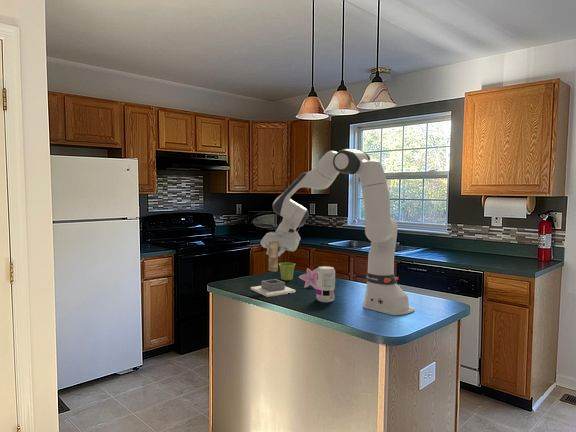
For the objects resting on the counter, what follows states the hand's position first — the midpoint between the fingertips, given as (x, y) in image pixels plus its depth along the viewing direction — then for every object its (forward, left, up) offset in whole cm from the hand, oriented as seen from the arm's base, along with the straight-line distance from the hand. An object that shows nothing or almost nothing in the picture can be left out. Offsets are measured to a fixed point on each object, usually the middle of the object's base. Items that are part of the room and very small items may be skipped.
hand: (272, 255), depth 203 cm
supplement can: (-26, -13, -18) cm, 34 cm away
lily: (-2, -22, -18) cm, 29 cm away
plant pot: (+18, -21, -18) cm, 33 cm away
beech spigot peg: (0, -1, -8) cm, 8 cm away
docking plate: (0, -1, -18) cm, 18 cm away
